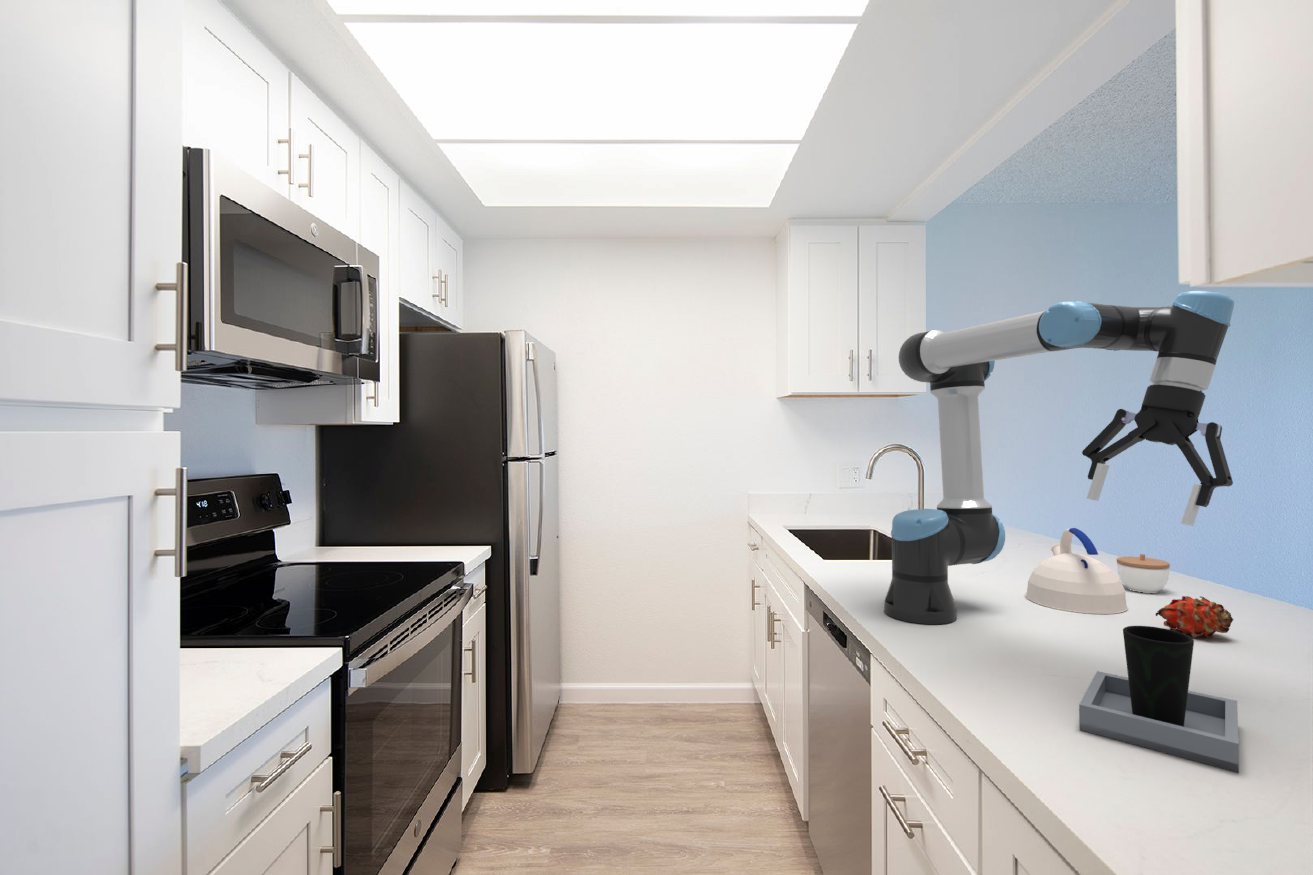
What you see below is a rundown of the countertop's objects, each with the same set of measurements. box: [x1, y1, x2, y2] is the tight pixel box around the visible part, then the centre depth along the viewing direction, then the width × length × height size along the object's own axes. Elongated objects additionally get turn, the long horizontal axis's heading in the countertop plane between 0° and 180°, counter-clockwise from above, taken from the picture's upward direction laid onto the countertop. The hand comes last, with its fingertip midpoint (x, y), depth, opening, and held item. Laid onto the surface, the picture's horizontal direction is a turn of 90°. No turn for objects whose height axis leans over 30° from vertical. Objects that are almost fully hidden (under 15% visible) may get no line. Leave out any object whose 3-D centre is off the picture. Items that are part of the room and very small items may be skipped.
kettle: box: [1025, 527, 1129, 615], centre depth 147 cm, size 20×21×18 cm
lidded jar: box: [1116, 553, 1171, 594], centre depth 158 cm, size 11×11×9 cm
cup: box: [1122, 625, 1195, 727], centre depth 85 cm, size 8×8×12 cm
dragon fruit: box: [1155, 595, 1234, 639], centre depth 123 cm, size 8×8×12 cm
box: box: [1078, 670, 1240, 773], centre depth 85 cm, size 16×16×4 cm
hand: (1137, 511), depth 102 cm, fingers open, 13 cm apart
